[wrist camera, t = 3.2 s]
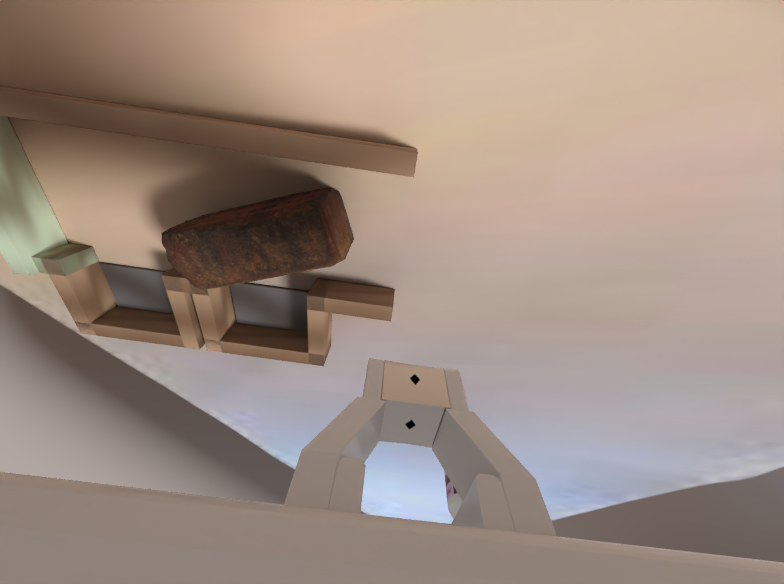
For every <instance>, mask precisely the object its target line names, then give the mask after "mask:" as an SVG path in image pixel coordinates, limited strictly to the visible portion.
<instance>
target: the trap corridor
mask: <svg viewBox="0 0 784 584" xmlns="http://www.w3.org/2000/svg"><path fill="white" fill-rule="evenodd" d="M8 117H14V118H21V119H28V120H34V121H41V122H48V123H54V124H61V125H68V126H74V127H81V128H88V129H95V130H101V131H108V132H115V133H121V134H128V135H135V136H142V137H148V138H155V139H162V140H168V141H175V142H182V143H188V144H195V145H202V146H209V147H215V148H222V149H229V150H235V151H242V152H249V153H255V154H262V155H269V156H276V157H282V158H289V159H296V160H302V161H309V162H316V163H323V164H329V165H336V166H343V167H349V168H356V169H363V170H369V171H376V172H383V173H390V174H396V175H403V176H410V177H414V173H415V167H416V160H417V154H418V152H417V149H415V148H408V147H402V146H395V145H389V144H382V143H375V142H369V141H362V140H356V139H349V138H342V137H336V136H329V135H323V134H316V133H309V132H303V131H296V130H289V129H283V128H276V127H270V126H263V125H256V124H250V123H243V122H237V121H230V120H223V119H217V118H210V117H204V116H197V115H190V114H184V113H177V112H170V111H164V110H157V109H151V108H144V107H137V106H131V105H124V104H118V103H111V102H104V101H98V100H91V99H85V98H78V97H71V96H65V95H58V94H51V93H45V92H38V91H32V90H25V89H18V88H12V87H5V86H0V252H1V254H2V256H3V257H4V259H5V260H6V262H7V264H8V265H9V267H10V268H11V270H12V272H13V273H15V274H22V275H29V276H32V275H35V274H37V273H39V272H40V273H47V274H49V276H50V278H51V280H52V281H53V283H54V285H55V287H56V289H57V291H58V292H59V294H60V296H61V298H62V300H63V301H64V303H65V305H66V307H67V309H68V310H69V312H70V314H71V316H72V318H73V320H74V321H75V323H76V325H77V327H78V329H79V330H80V332H81V333H82V334H89V335H97V336H104V337H112V338H119V339H126V340H134V341H141V342H149V343H156V344H164V345H171V346H178V347H186V348H193V349H200V348H201V347H202V346H203V345H204V344H206V348H207V350H208V351H216V352H223V353H230V354H238V355H245V356H253V357H260V358H267V359H275V360H282V361H290V362H297V363H305V364H312V365H319V366H324V363H325V361H326V358H327V355H328V352H329V349H330V346H331V322H332V313H335V314H343V315H350V316H357V317H364V318H372V319H379V320H386V321H391V316H392V310H393V301H394V290H395V289H389V288H382V287H375V286H368V285H360V284H353V283H346V282H339V281H332V280H325V279H318V278H317V279H316V281H315V283H314V284H313V286H312V288H311V289H310V291H309V292H308V291H301V290H294V289H287V288H280V287H272V286H265V285H258V284H251V283H241V284H236V285H230V287H229V286H223V287H219V288H212V289H203V290H202V289H198V288H197V287H194V286H193V285H192V284H190V282H189V281H188V280H187V279H186V278H185V277H184V276H182V275H181V274H180V273H179V272H178V271H177V270H176V269H175V268H172V269H170V270H169V271H167V272H165V271H158V270H151V269H144V268H137V267H129V266H122V265H115V264H108V263H99V261H98V258H97V256H96V254H95V251H94V249H93V247H91V246H84V245H77V244H69V243H68V242H67V240H66V238H65V235H64V233H63V231H62V229H61V227H60V225H59V223H58V221H57V219H56V217H55V215H54V213H53V211H52V208H51V206H50V204H49V202H48V200H47V198H46V196H45V194H44V192H43V190H42V188H41V186H40V184H39V181H38V179H37V177H36V175H35V173H34V171H33V169H32V167H31V165H30V163H29V161H28V159H27V157H26V154H25V152H24V150H23V148H22V146H21V144H20V142H19V140H18V138H17V136H16V134H15V132H14V130H13V127H12V125H11V123H10V121H9V119H8ZM230 288H231V292H230ZM231 293H232V298H231ZM232 299H233V303H232ZM233 304H234V308H233ZM234 309H235V314H234ZM235 315H236V319H235ZM236 320H237V322H236Z"/></svg>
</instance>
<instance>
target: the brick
mask: <svg viewBox="0 0 784 584" xmlns="http://www.w3.org/2000/svg"><path fill="white" fill-rule="evenodd" d="M353 240H354V237H353V233H352V230H351V227H350V224H349V220H348V217H347V213H346V210H345V207H344V204H343V200H342V197H341V195H340V193H339V191H335V190H333V189H332V188H324V189H316V190H314V191H310V192H303V193H298V194H292V195H288V196H285V197H280V198H274V199H270V200H266V201H262V202H258V203H254V204H250V205H245V206H241V207H237V208H232V209H228V210H223V211H219V212H216V213H211V214H207V215H203V216H200V217H198V218H194V219H192V220H189V221H186V222H184V223H181V224H179V225H177V226H175V227H172V228H170V229H168V230H167V231H164V232H163V233H162V244H163V246H164V247H165V248H166V251H167V257H168V261H169V262H170V263H171V265H172V266H173V267H174V268H175V269H176V270H177V271H178V272H179V273H180V274H181V275H182V276H184V277H185V278H186V279H187V280H188V281H189V282H190V284H192V285H193V286H194V287H197V288H198V289H202V290H203V289H212V288H219V287H223V286H230V285H236V284H241V283H246V282H251V281H257V280H262V279H267V278H272V277H278V276H284V275H288V274H294V273H298V272H302V271H306V272H307V271H311V270H314V269H319V268H325V267H331V266H333V265H335V264H336V263H338V262H340V261H342V260H344V259H346V255H347V253H348V251H349V248H350V246H351V244H352V242H353Z"/></svg>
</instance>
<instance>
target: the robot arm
mask: <svg viewBox="0 0 784 584" xmlns="http://www.w3.org/2000/svg"><path fill="white" fill-rule="evenodd" d="M379 441H385V442H396V443H406V444H412V445H419V446H425V447H432V450H433V452H434V453H435V455H436V457H437V458H438V460H439V462H440V464H441V465H442V467H443V469H444V470H445V472H446V474H447V476H448V477H449V479H450V481H451V482H452V484H453V486H454V488H455V489H456V491H457V493H458V495H459V496H460V498H461V500H462V501H463V502H462V504H461V506H460V508H459V510H458V512H457V514H456V516H455V518H454V520H453V522H452V524H445V523H437V522H428V521H419V520H411V519H402V518H393V517H384V516H376V515H367V514H360V511H361V502H362V493H363V483H364V474H365V464H364V462H365V461H366V459H367V458H368V456H369V455H370V454H371V452H372V451H373V449H374V448H375V447H376V445H377V444H378V442H379ZM0 584H784V563H782V562H773V561H764V560H756V559H747V558H739V557H730V556H720V555H712V554H704V553H695V552H687V551H678V550H669V549H660V548H652V547H643V546H635V545H626V544H617V543H609V542H599V541H591V540H583V539H574V538H565V537H557V535H556V532H555V530H554V527H553V524H552V522H551V519H550V516H549V514H548V511H547V508H546V506H545V503H544V500H543V498H542V495H541V492H540V490H539V487H538V485H537V482H536V479H535V478H534V477H533V476H532V475H531V474H530V473H529V472H528V471H527V470H526V468H525V467H524V466H523V465H522V464H521V463H520V462H519V461H518V460H517V459H516V458H515V457H514V455H513V454H512V453H511V452H510V451H509V450H508V449H507V448H506V447H505V446H504V445H503V444H502V442H501V441H500V440H499V439H498V438H497V437H496V436H495V435H494V434H493V433H492V432H491V430H490V429H489V428H488V427H487V426H486V425H485V424H484V423H483V422H482V421H481V420H480V419H479V417H478V416H477V415H476V414H475V413H474V412H470V411H469V410H468V405H467V401H466V397H465V393H464V389H463V384H462V380H461V376H460V372H459V371H458V370H452V369H444V368H443V369H442V368H434V367H426V366H419V365H411V364H404V363H398V362H392V361H386V360H385V361H383V360H377V359H371V358H369V361H368V366H367V373H366V379H365V385H364V391H363V398H362V397H357V398H356V399H355V400H354V401H353V402H352V403H351V404H350V405H349V406H348V407H347V408H346V409H345V410H344V411H343V412H342V413H340V414H339V415H338V416H337V417H336V418H335V419H334V420H333V421H332V422H331V423H330V424H329V425H328V426H327V427H326V428H325V429H324V430H323V431H321V432H320V433H319V434H318V435H317V436H316V437H315V438H314V439H313V440H312V441H311V442H310V443H309V444H308V445H307V446H306V447H305V448H304V449H302V451H301V454H300V457H299V460H298V463H297V466H296V469H295V473H294V476H293V479H292V481H291V485H290V488H289V491H288V494H287V497H286V500H285V503H284V505H281V504H271V503H263V502H254V501H246V500H237V499H228V498H220V497H211V496H202V495H194V494H185V493H177V492H167V491H159V490H151V489H142V488H133V487H125V486H116V485H107V484H98V483H90V482H81V481H73V480H65V479H56V478H47V477H39V476H30V475H21V474H13V473H5V472H0Z"/></svg>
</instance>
